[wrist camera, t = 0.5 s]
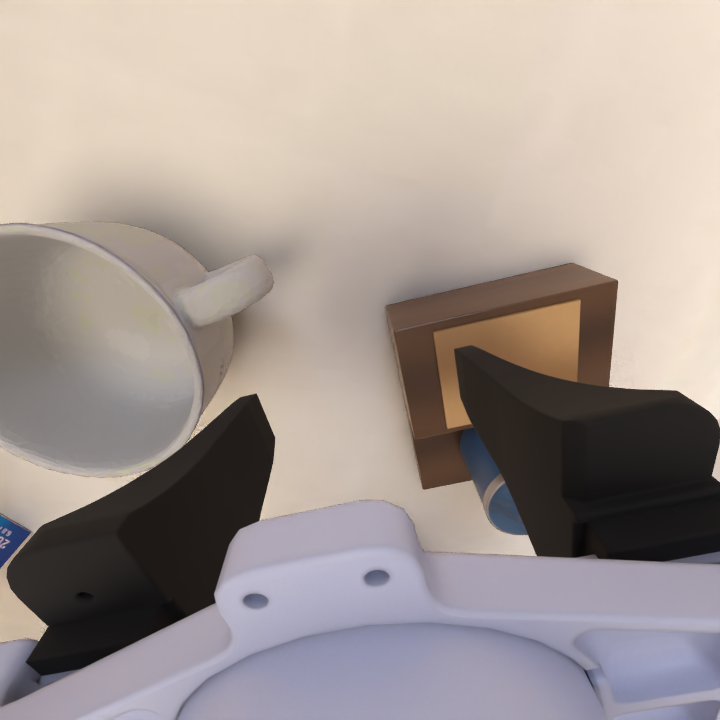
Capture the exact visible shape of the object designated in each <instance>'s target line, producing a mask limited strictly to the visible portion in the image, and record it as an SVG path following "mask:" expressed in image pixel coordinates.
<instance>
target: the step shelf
mask: <svg viewBox="0 0 720 720" xmlns="http://www.w3.org/2000/svg"><path fill="white" fill-rule="evenodd" d="M617 289H618V281H617V280H615V279H613V278H610V277H608V276H605V275H603V274H600V273H598V272H595V271H592V270H590V269H587V268H585V267H582V266H580V265H577V264H575V263H570V264H565V265H561V266H556V267H552V268H548V269H543V270H539V271H535V272H530V273H526V274H522V275H517V276H513V277H508V278H504V279H500V280H495V281H491V282H487V283H482V284H478V285H474V286H469V287H465V288H460V289H456V290H452V291H447V292H443V293H439V294H434V295H430V296H426V297H421V298H417V299H412V300H408V301H404V302H399V303H395V304H391V305H386V306H385V308H386V313H387V318H388V323H389V328H390V333H391V338H392V343H393V348H394V353H395V358H396V362H397V367H398V372H399V377H400V382H401V387H402V392H403V397H404V402H405V407H406V411H407V416H408V421H409V426H410V431H411V436H412V441H413V446H414V451H415V456H416V460H417V465H418V470H419V475H420V480H421V484H422V488H423V489H424V490H425V489H430V488H435V487H440V486H445V485H450V484H455V483H460V482H465V481H470V480H472V477H471V475H470V473H469V470H468V468H467V466H466V463H465V461H464V459H463V456H462V454H461V451H460V439H461V435H462V433H463V431H464V430H465V429H469V428H474V427H473V425H472V423H471V422H470V420H469V418H468V415H467V413H466V410H465V408H464V406H463V403H462V401H461V398H460V391H459V384H458V376H457V369H456V361H455V354H454V349H456V348H460V347H465V346H469V345H473V346H475V347H478V348H480V349H482V350H484V351H486V352H488V353H491V354H493V355H495V356H497V357H499V358H502V359H504V360H506V361H508V362H511V363H513V364H516V365H518V366H521V367H524V368H526V369H529V370H532V371H535V372H538V373H541V374H545V375H548V376H552V377H556V378H560V379H564V380H569V381H573V382H579V383H585V384H590V385H597V386H605V387H609V379H610V367H611V356H612V345H613V334H614V322H615V311H616V300H617Z"/></svg>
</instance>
